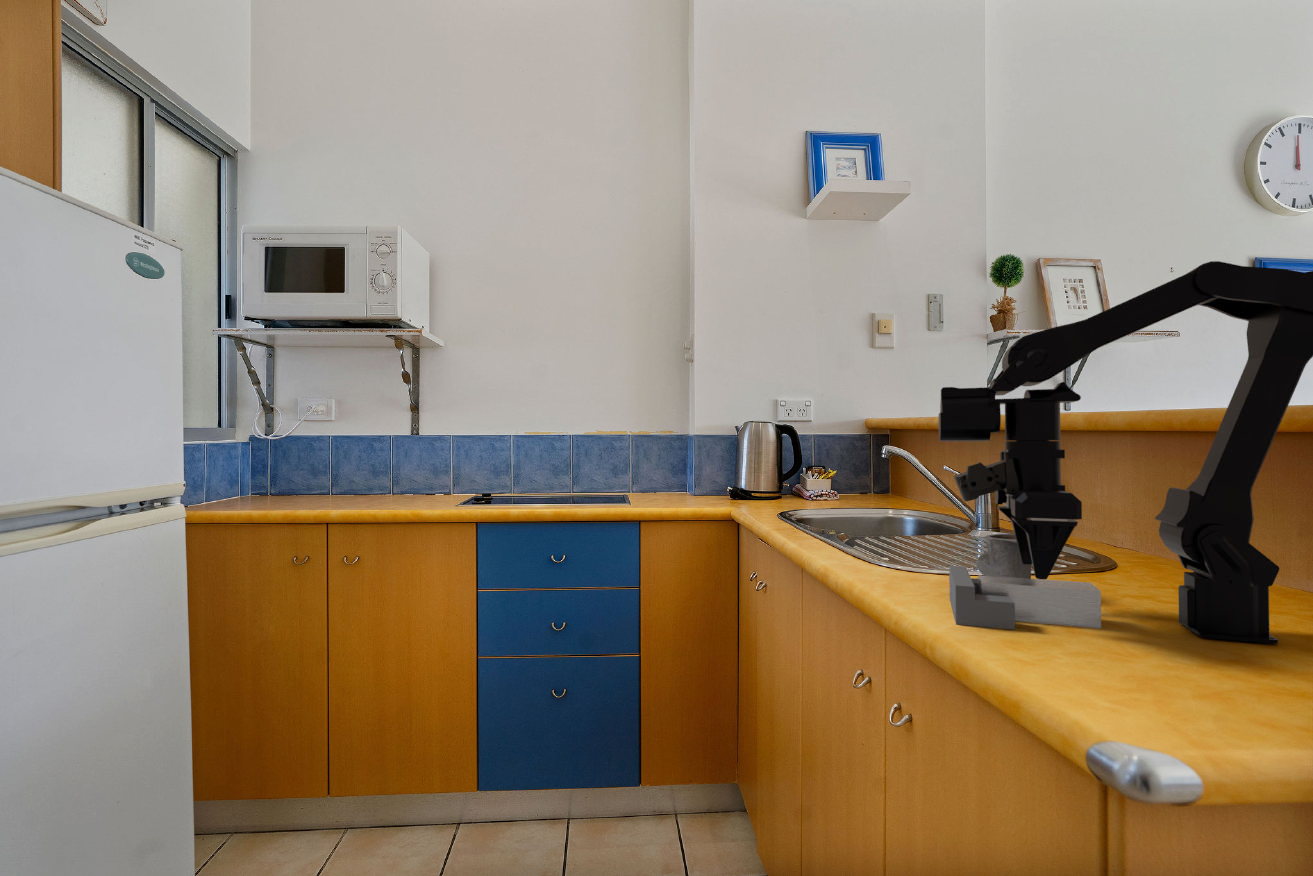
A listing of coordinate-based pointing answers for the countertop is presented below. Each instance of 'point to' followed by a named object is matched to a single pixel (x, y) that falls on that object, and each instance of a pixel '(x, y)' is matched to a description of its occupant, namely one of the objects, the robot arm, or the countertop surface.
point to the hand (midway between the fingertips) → (1033, 571)
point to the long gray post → (1047, 600)
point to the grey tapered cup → (1002, 558)
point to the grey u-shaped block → (978, 603)
